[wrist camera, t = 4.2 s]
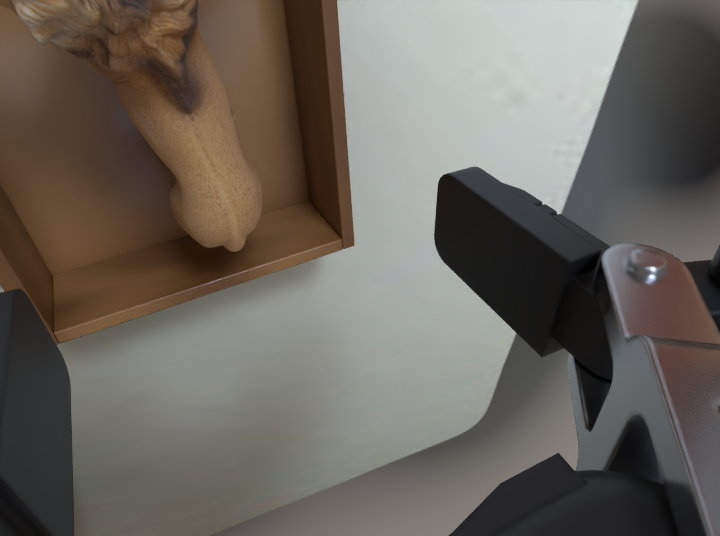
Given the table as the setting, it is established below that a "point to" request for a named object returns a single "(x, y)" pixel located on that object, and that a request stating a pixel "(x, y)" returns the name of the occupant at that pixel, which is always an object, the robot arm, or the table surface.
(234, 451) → the table surface
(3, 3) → the lion figurine
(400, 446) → the table surface
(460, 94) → the table surface
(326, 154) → the brown wooden shallow box
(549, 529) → the robot arm
